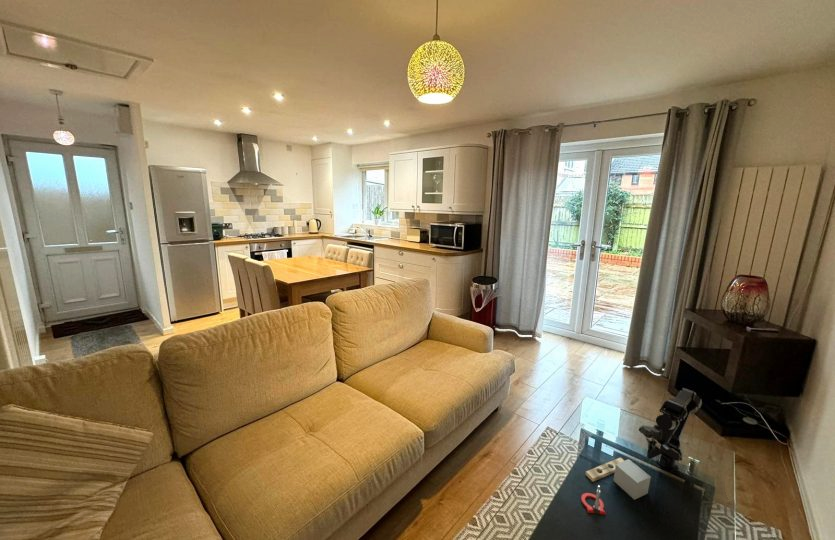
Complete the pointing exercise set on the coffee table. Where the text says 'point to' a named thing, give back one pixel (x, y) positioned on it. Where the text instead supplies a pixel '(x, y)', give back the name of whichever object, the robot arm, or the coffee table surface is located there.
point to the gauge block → (631, 479)
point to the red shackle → (596, 508)
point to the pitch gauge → (603, 470)
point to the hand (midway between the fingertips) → (648, 458)
